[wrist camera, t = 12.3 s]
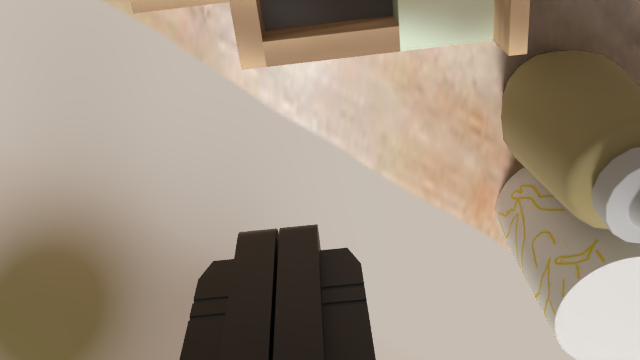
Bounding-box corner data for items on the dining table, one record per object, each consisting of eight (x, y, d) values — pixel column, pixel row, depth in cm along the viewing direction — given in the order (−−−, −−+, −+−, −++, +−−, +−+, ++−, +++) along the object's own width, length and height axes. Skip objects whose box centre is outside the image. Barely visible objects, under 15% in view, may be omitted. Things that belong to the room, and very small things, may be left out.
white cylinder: (519, 146, 42) (592, 245, 32) (624, 167, 43) (728, 269, 33) (479, 239, 46) (532, 355, 35) (576, 257, 47) (656, 374, 36)
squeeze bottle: (503, 164, 43) (622, 347, 27) (469, 65, 39) (583, 210, 23) (616, 119, 41) (811, 286, 26) (592, 12, 38) (801, 129, 22)
